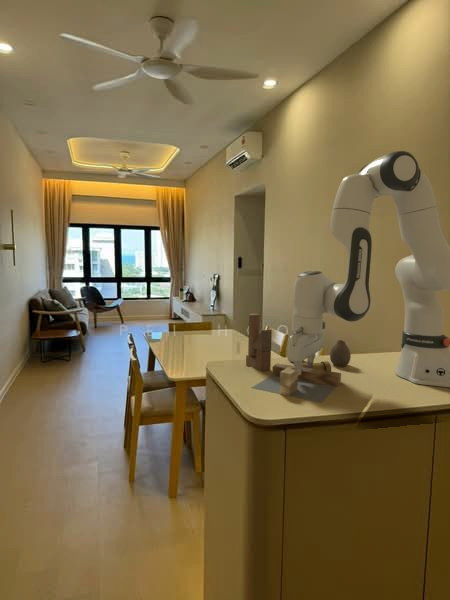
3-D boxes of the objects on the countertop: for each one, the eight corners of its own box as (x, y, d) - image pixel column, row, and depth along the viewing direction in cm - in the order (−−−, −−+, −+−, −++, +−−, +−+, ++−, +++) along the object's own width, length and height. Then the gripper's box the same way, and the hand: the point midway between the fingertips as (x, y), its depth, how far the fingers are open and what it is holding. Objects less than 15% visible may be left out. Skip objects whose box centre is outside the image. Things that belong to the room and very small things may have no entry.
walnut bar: (340, 386, 117) (341, 373, 117) (337, 390, 113) (338, 376, 113) (276, 375, 126) (277, 363, 126) (272, 378, 123) (272, 366, 122)
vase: (328, 366, 136) (329, 341, 135) (331, 361, 143) (332, 338, 142) (349, 369, 134) (350, 343, 133) (351, 364, 140) (352, 339, 139)
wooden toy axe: (261, 373, 127) (262, 318, 125) (245, 365, 136) (246, 313, 134) (270, 372, 128) (272, 317, 126) (254, 364, 138) (256, 313, 136)
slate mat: (336, 390, 112) (336, 387, 112) (320, 405, 101) (321, 402, 100) (271, 377, 123) (271, 375, 123) (251, 390, 111) (251, 387, 111)
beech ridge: (297, 389, 110) (298, 368, 109) (289, 395, 105) (290, 373, 104) (288, 387, 111) (288, 366, 111) (279, 393, 106) (280, 372, 106)
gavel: (276, 352, 144) (301, 351, 146) (276, 365, 144) (301, 363, 147) (303, 364, 123) (331, 362, 126) (303, 379, 124) (331, 376, 126)
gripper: (304, 332, 107) (302, 381, 109) (327, 322, 125) (324, 365, 126) (283, 329, 111) (280, 377, 112) (308, 320, 128) (305, 361, 130)
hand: (304, 370), depth 119 cm, fingers open, 8 cm apart
